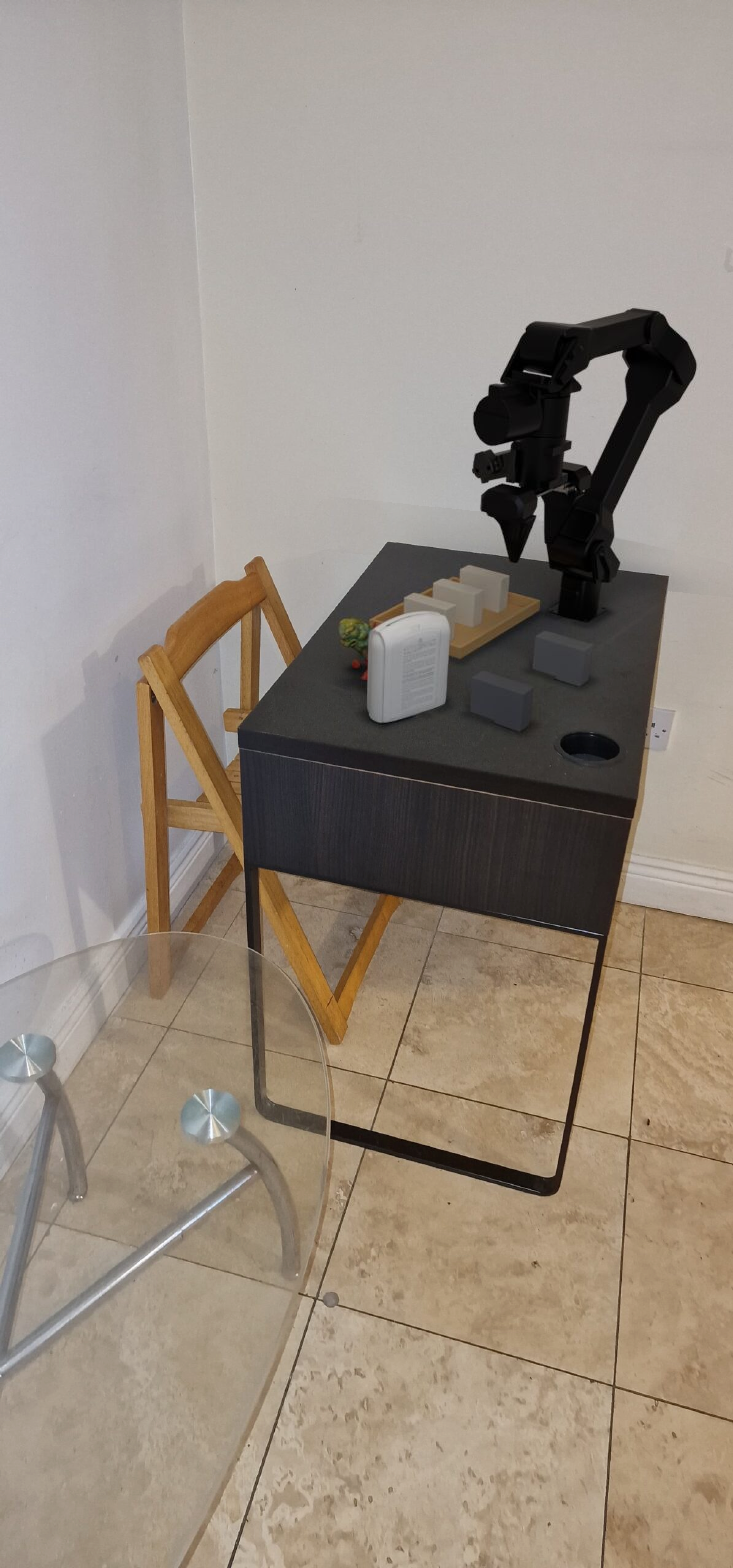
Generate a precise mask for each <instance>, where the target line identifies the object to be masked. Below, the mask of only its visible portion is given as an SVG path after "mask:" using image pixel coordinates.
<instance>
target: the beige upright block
mask: <svg viewBox="0 0 733 1568" xmlns="http://www.w3.org/2000/svg"><path fill="white" fill-rule="evenodd" d="M459 578H460V580H459V583H461V584H465V585H469V586H472V587H476V588H480V589H483V590H484V595H483V609H487V610H490V611H494V612H497V613H499V612H501V611H502V610H504V609H506V608H507V600H508V592H509V588H510V578H511V577H510V575H509V574H505V573H502V572H498V571H493V570H490V569H487V568H482V567H479V566H474V565H471V564H467V565H466V566H464V567H462V568H460V569H459Z"/></svg>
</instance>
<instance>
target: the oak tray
mask: <svg viewBox="0 0 733 1568" xmlns="http://www.w3.org/2000/svg"><path fill="white" fill-rule="evenodd" d="M447 580H451V581H454V582H458V583H459V580H460V577H457V576H451V577H450V578H448V579H447ZM419 594H421V595H424V596H428V597H431V598H433V586H432V587H430V588H428V589H425V590H424V591H422V592H420V593H419ZM540 609H541V600H540V599H537V598H533V597H529V596H526V595H522V594H518V593H515V592H512V591H508V600H507V608H506V609H504V610H502V611H501V612H499V613H497V612H494V611H490V610H487V609H483V608H482V621H481V623H480V624H478V625H477V626H475V627H473V628H471V627H468V626H464V625H461V624H458V623H455V632H454V639H453V640H451V641H450V644H449V656H450V657H453V658H455V659H463V658H464V657H465V656H468V655H469V654H471V653H472V652H474V651H476V650H477V649H479V648H480V647H482V646H484V645H485V644H487V643H489V642H490V641H492V640H493V639H495V638H497V637H498V636H500V635H501V634H503V633H505V632H507V631H508V630H510V629H511V628H513V627H515V626H516V625H518V624H520V623H521V622H523V621H525V620H526V619H527V618H530V617H531V616H533V615H534V614H536V613H537V612H539V611H540ZM403 614H404V601H403V602H401V603H399V604H397V605H394V606H392V607H391V608H389V609H387V610H385V611H382V612H381V613H379V614H377V615H375V616H373V617H371V618H370V619H368V625H370V626H373V625H374V623H375V622H376V626H375V627H377V626H378V625H380V624H382V623H383V622H385V621H387V620H389V619H392V618H394V617H397V616H400V615H403Z"/></svg>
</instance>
